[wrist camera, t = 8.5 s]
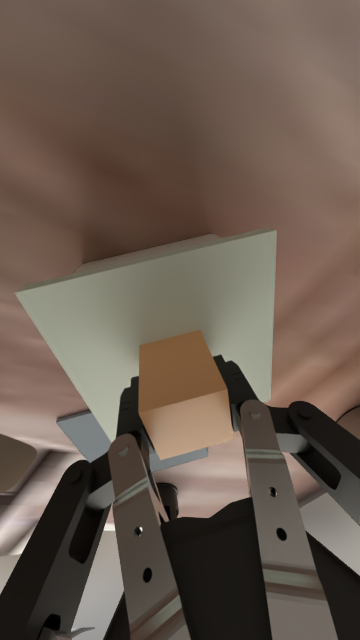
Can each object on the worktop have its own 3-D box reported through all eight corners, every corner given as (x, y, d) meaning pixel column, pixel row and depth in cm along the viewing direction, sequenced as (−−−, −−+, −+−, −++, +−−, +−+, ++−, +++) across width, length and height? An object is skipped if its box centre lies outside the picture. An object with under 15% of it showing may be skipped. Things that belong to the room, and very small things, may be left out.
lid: (265, 227, 12) (361, 246, 7) (263, 389, 19) (310, 461, 14) (25, 285, 12) (-73, 354, 6) (113, 430, 19) (103, 521, 13)
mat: (191, 383, 28) (192, 386, 28) (207, 453, 37) (208, 456, 37) (57, 418, 27) (55, 422, 27) (107, 481, 36) (107, 484, 36)
